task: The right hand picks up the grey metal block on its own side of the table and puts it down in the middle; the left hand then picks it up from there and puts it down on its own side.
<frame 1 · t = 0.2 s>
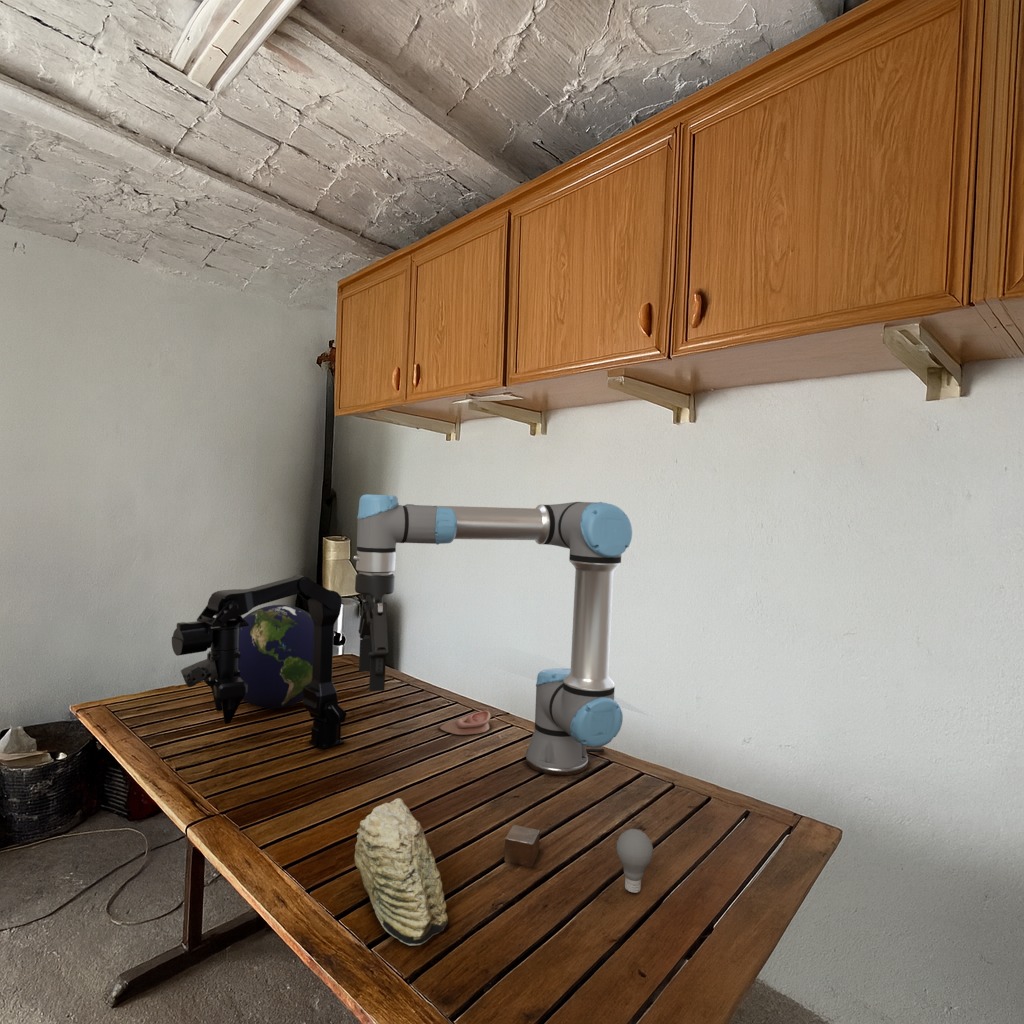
left hand: (223, 717, 142), 13 cm above the table, tool pointing down, fingers open, 9 cm apart
right hand: (370, 680, 125), 28 cm above the table, tool pointing down, fingers open, 13 cm apart
anatomical model: (465, 728, 177), on the table
light bulb: (632, 891, 106), on the table
globe: (275, 706, 188), on the table
grey metal block: (521, 857, 114), on the table
fossil: (397, 910, 98), on the table
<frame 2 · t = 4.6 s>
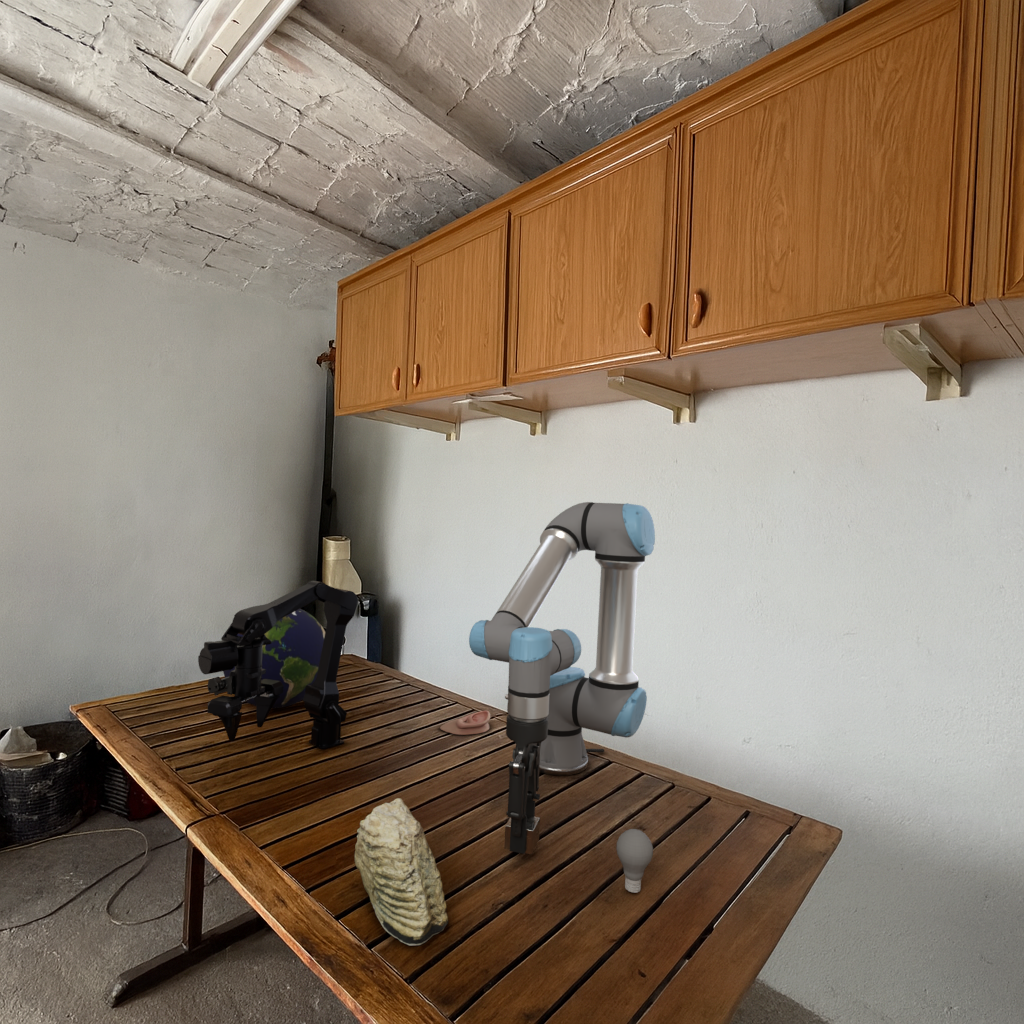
left hand: (246, 733, 145), 8 cm above the table, tool pointing down, fingers open, 9 cm apart
right hand: (522, 842, 114), 3 cm above the table, tool pointing down, fingers closed on grey metal block, 5 cm apart
grey metal block: (521, 844, 115), point 2 cm above the table, touching right hand
everything else where it was.
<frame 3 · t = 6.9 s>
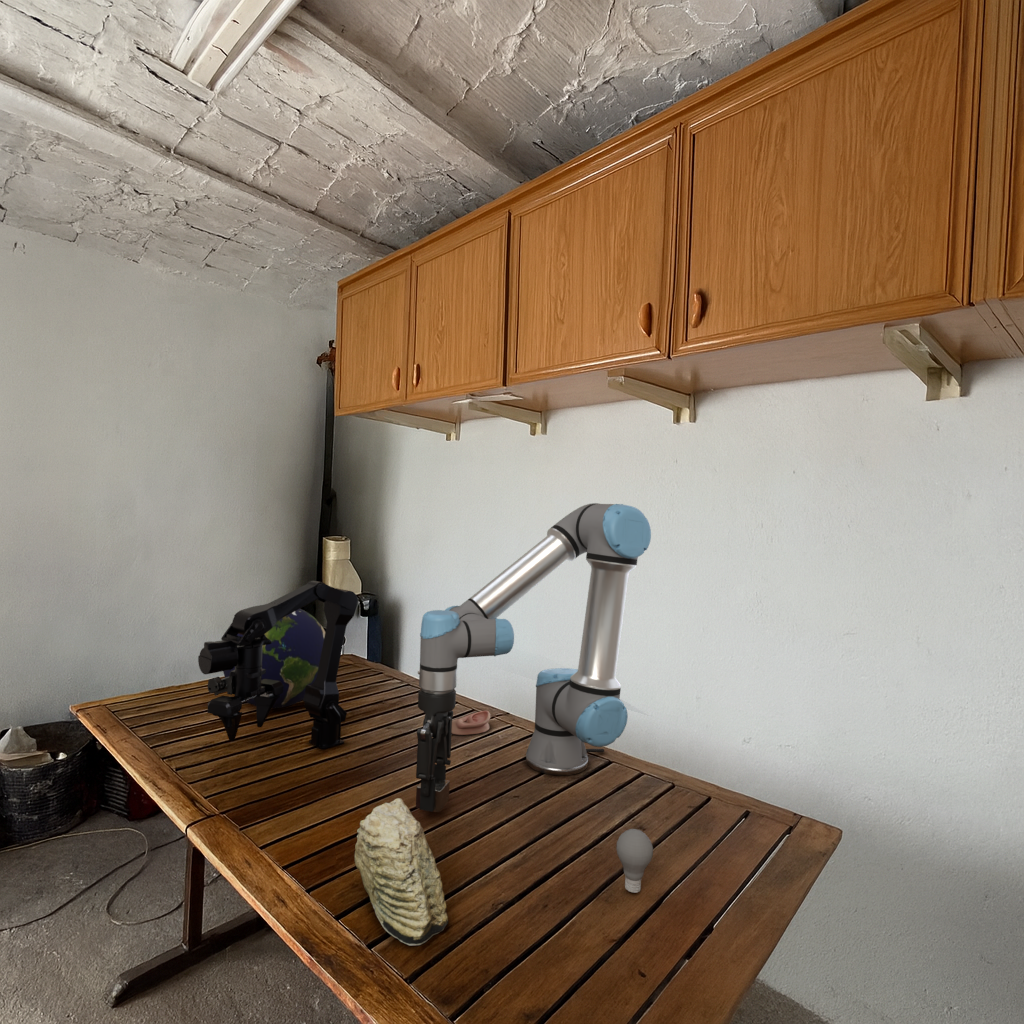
left hand: (246, 733, 145), 8 cm above the table, tool pointing down, fingers open, 9 cm apart
right hand: (432, 803, 128), 3 cm above the table, tool pointing down, fingers closed on grey metal block, 5 cm apart
grey metal block: (432, 804, 128), point 2 cm above the table, touching right hand
everything else where it was.
when the right hand's fingers open (0 cm above the table, at t = 9.6 s): grey metal block stays where it is, on the table.
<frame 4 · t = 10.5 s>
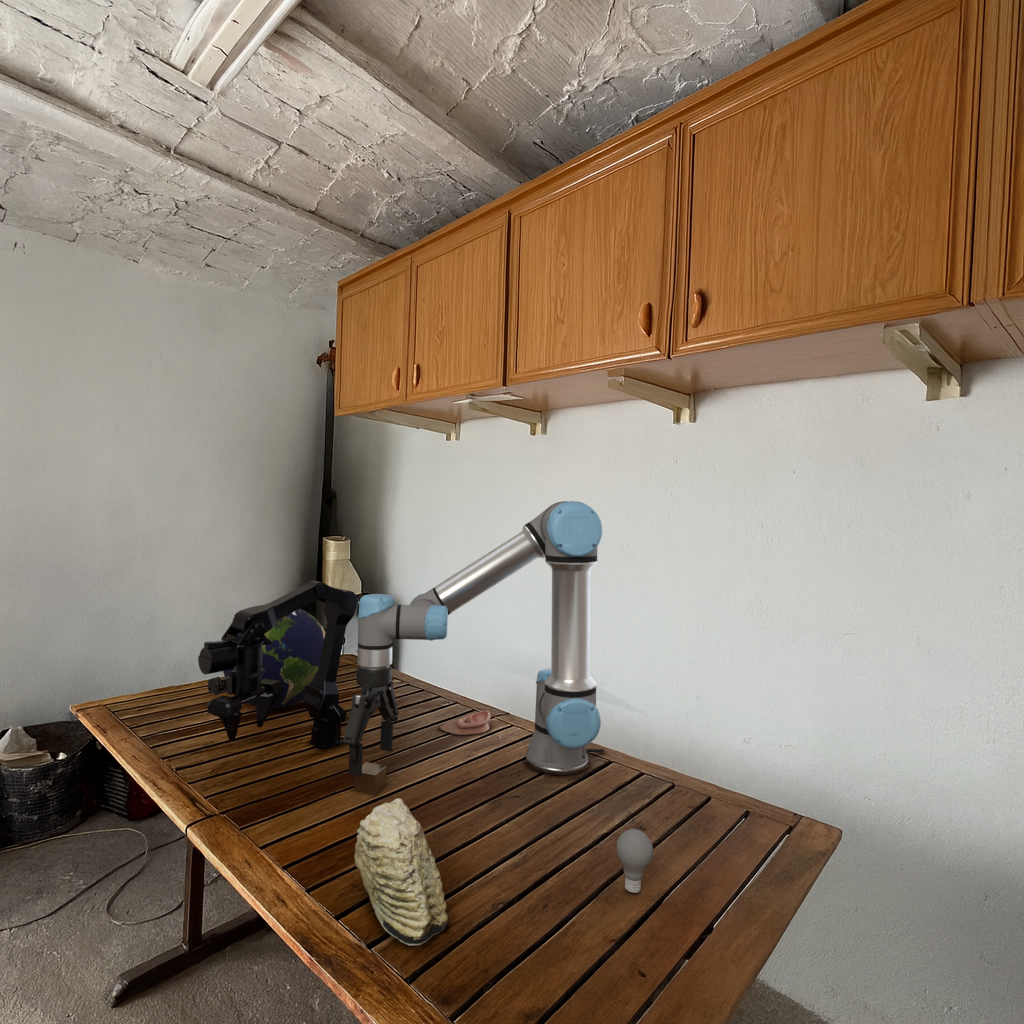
left hand: (246, 733, 145), 8 cm above the table, tool pointing down, fingers open, 9 cm apart
right hand: (371, 761, 139), 6 cm above the table, tool pointing down, fingers open, 13 cm apart
grey metal block: (369, 787, 139), on the table
everything else where it was.
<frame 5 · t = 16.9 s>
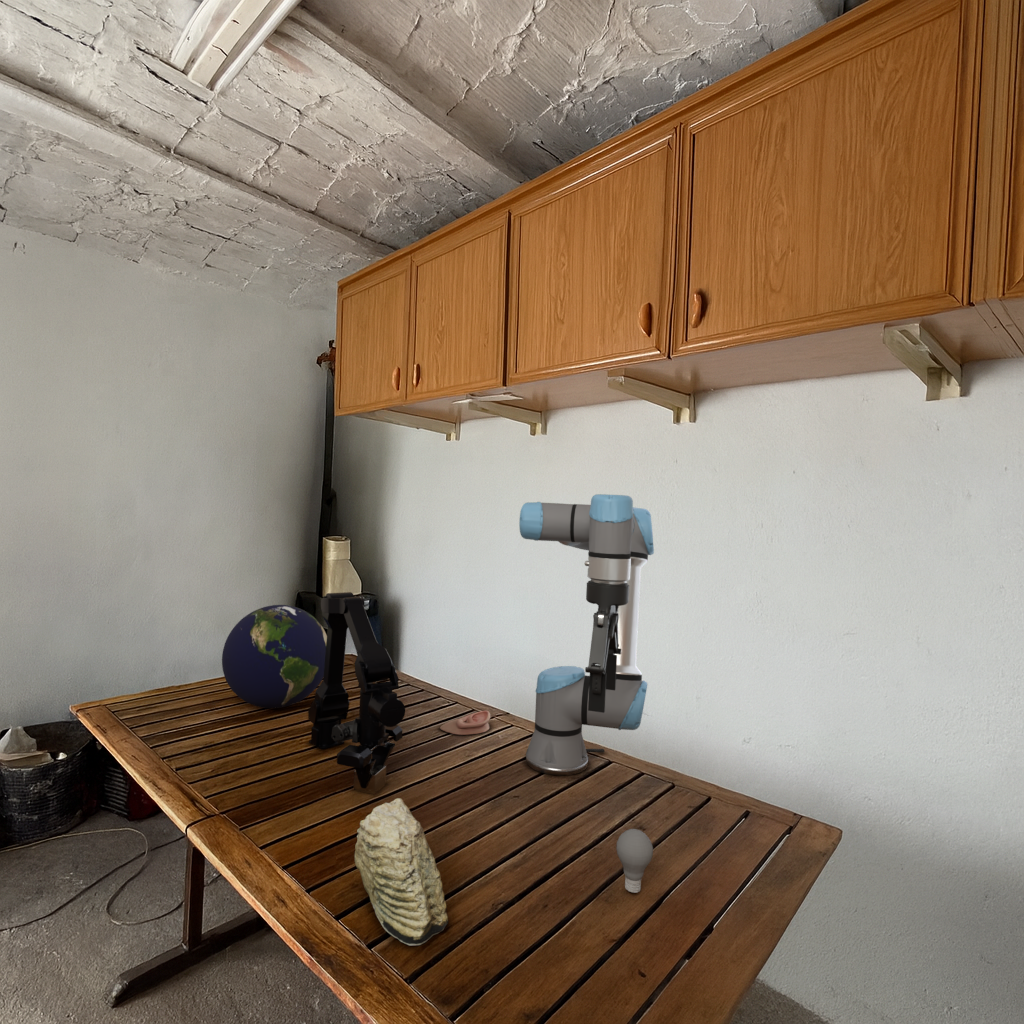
left hand: (369, 782, 139), 1 cm above the table, tool pointing down, fingers closed on grey metal block, 5 cm apart
right hand: (602, 699, 113), 29 cm above the table, tool pointing down, fingers open, 13 cm apart
grey metal block: (369, 787, 139), on the table, touching left hand
everything else where it was.
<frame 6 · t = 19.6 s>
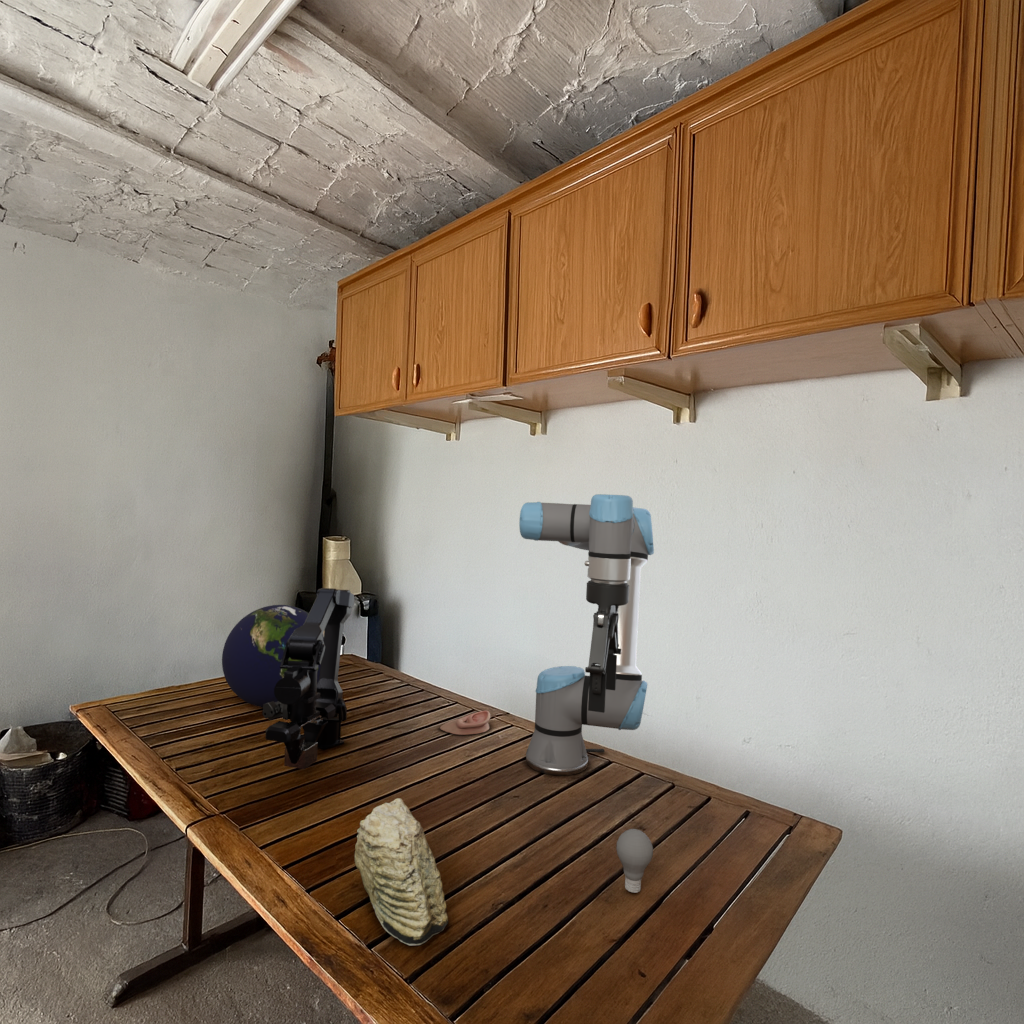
left hand: (301, 758, 143), 4 cm above the table, tool pointing down, fingers closed on grey metal block, 5 cm apart
right hand: (602, 699, 113), 29 cm above the table, tool pointing down, fingers open, 13 cm apart
grey metal block: (300, 763, 143), point 3 cm above the table, touching left hand
everything else where it was.
when the left hand's fingers open (2 cm above the table, at t = 22.4 s): grey metal block stays where it is, on the table.
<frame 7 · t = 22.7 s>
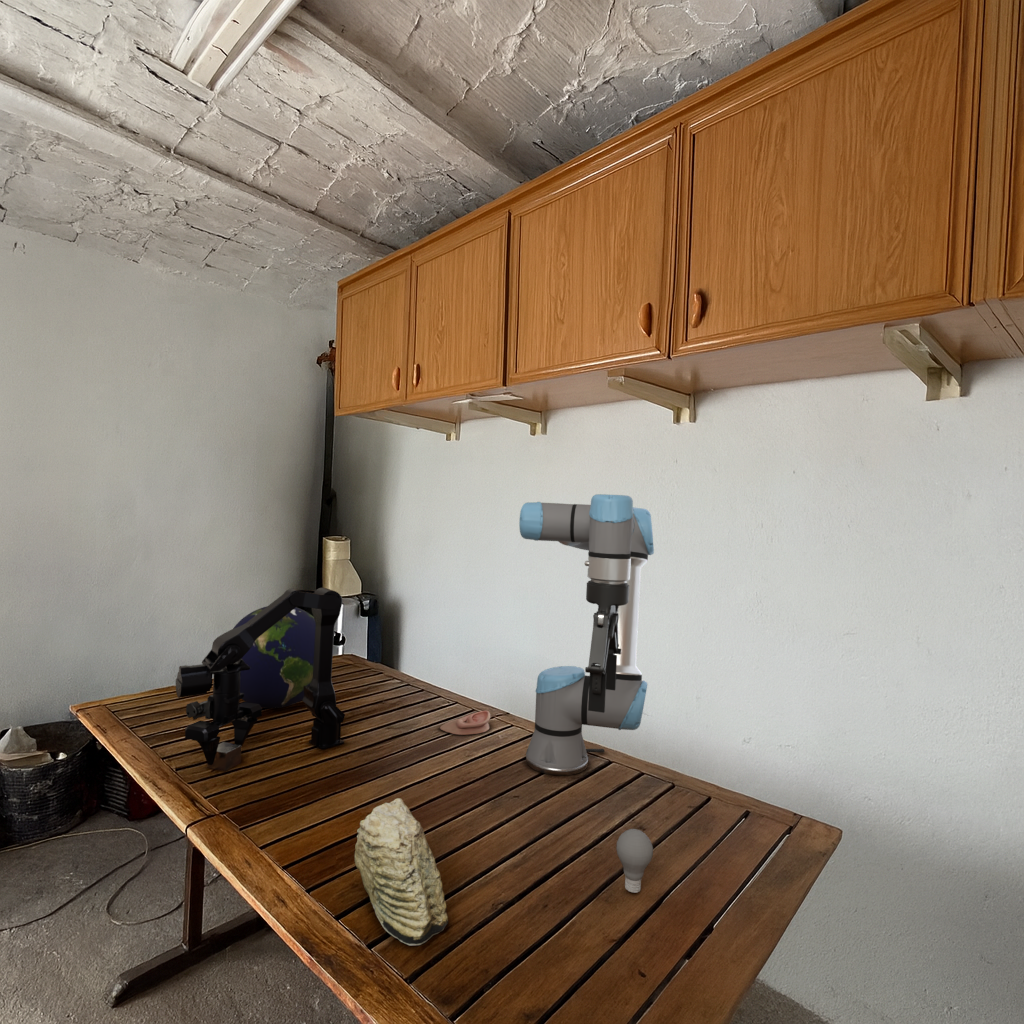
left hand: (224, 757, 147), 2 cm above the table, tool pointing down, fingers open, 8 cm apart
right hand: (602, 699, 113), 29 cm above the table, tool pointing down, fingers open, 13 cm apart
grey metal block: (224, 765, 147), on the table
everything else where it was.
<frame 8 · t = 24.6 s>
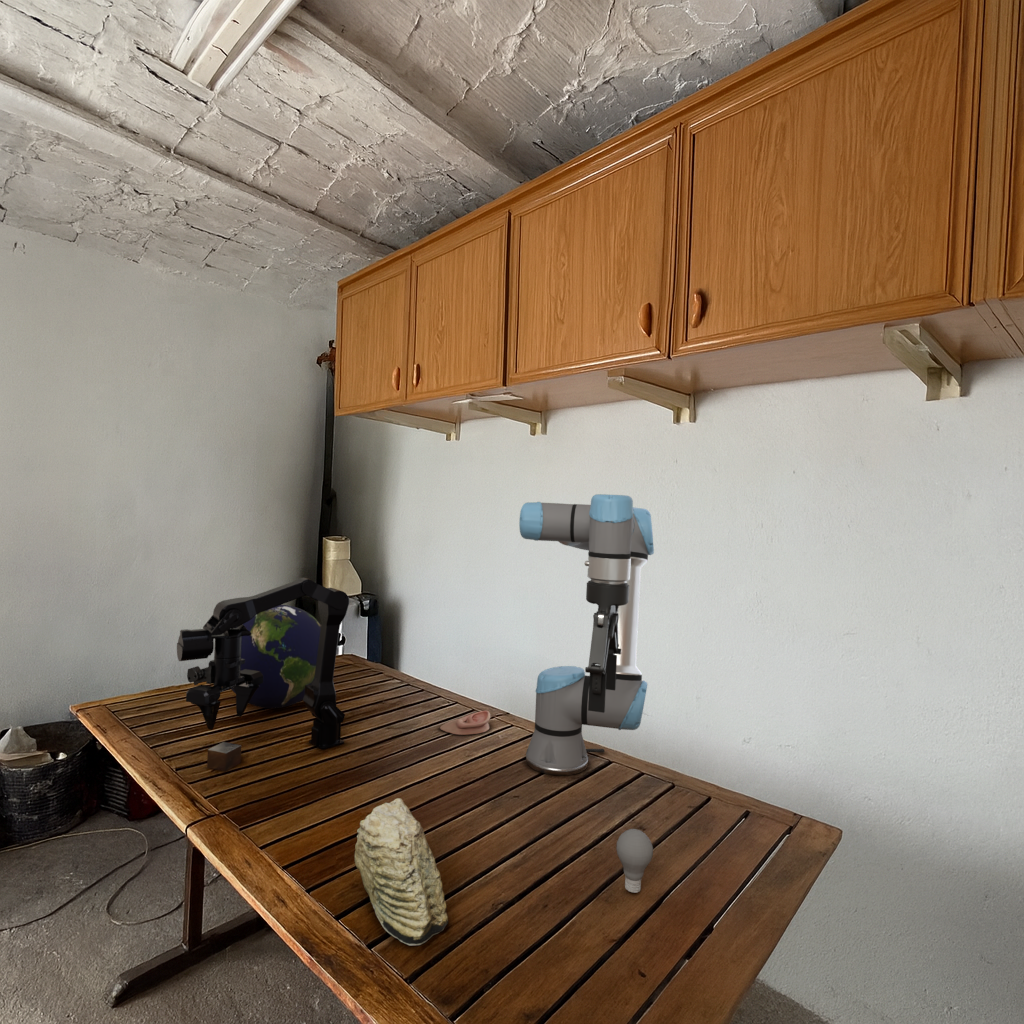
left hand: (225, 722, 147), 10 cm above the table, tool pointing down, fingers open, 9 cm apart
right hand: (602, 699, 113), 29 cm above the table, tool pointing down, fingers open, 13 cm apart
nothing on the table moved.
at the end: grey metal block inside the target area (0.1 cm from its centre), on the table; grey metal block tilted 0°; the two hands never held the grey metal block at the same time; the left hand is holding nothing; the right hand is holding nothing; grey metal block at rest at the end (0.0 cm/s) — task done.
